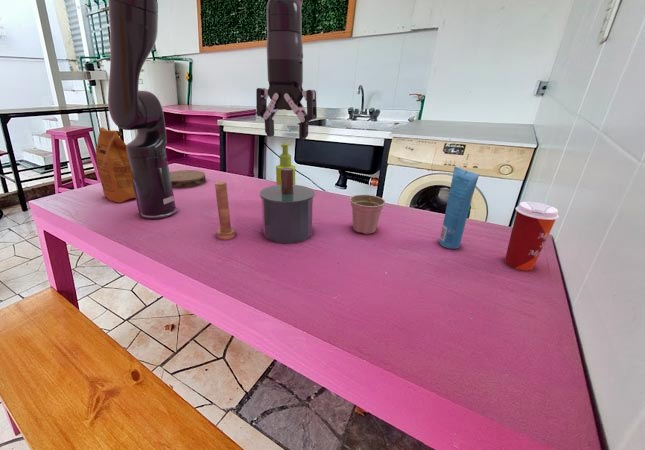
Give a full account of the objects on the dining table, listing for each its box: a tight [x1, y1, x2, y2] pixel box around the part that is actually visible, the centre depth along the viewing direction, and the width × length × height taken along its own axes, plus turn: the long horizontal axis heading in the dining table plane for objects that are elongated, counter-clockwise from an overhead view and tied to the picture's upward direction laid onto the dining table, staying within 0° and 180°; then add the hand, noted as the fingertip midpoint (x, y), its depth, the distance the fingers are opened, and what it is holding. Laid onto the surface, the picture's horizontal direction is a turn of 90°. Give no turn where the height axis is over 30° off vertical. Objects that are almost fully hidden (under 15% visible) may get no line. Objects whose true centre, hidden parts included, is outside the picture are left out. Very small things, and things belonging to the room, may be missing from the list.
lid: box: [259, 167, 316, 204], centre depth 75 cm, size 14×14×7 cm
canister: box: [260, 197, 314, 244], centre depth 78 cm, size 13×13×11 cm
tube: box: [438, 166, 480, 250], centre depth 72 cm, size 7×5×19 cm, turn 26°
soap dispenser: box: [275, 142, 296, 185], centre depth 94 cm, size 6×7×20 cm
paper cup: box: [504, 201, 560, 272], centre depth 66 cm, size 8×8×14 cm
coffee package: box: [95, 126, 136, 203], centre depth 96 cm, size 10×12×22 cm
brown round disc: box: [169, 169, 207, 190], centre depth 117 cm, size 16×16×3 cm
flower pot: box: [349, 194, 386, 235], centre depth 81 cm, size 9×9×9 cm
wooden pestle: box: [214, 180, 236, 240], centre depth 74 cm, size 4×4×14 cm
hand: (286, 137), depth 70 cm, fingers open, 8 cm apart
